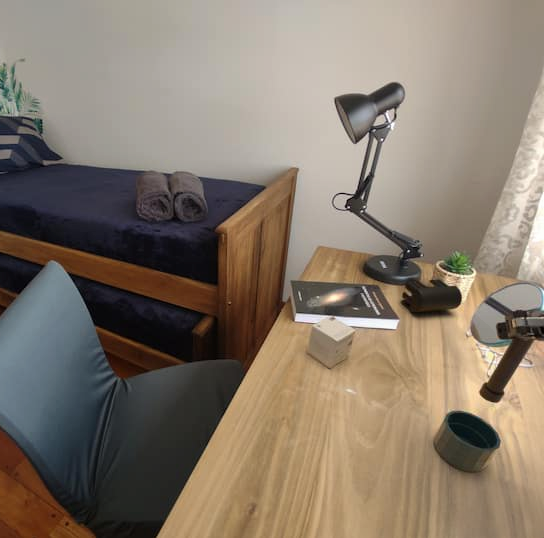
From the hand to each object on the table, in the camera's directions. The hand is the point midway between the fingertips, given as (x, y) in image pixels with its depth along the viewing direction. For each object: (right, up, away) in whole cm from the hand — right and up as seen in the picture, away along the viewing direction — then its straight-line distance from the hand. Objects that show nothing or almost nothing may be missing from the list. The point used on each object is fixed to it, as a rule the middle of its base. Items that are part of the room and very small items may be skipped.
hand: (509, 331), depth 47 cm
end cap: (+17, -2, +41) cm, 45 cm away
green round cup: (0, -21, +9) cm, 22 cm away
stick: (0, -10, +3) cm, 10 cm away
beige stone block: (-13, -10, +28) cm, 32 cm away
